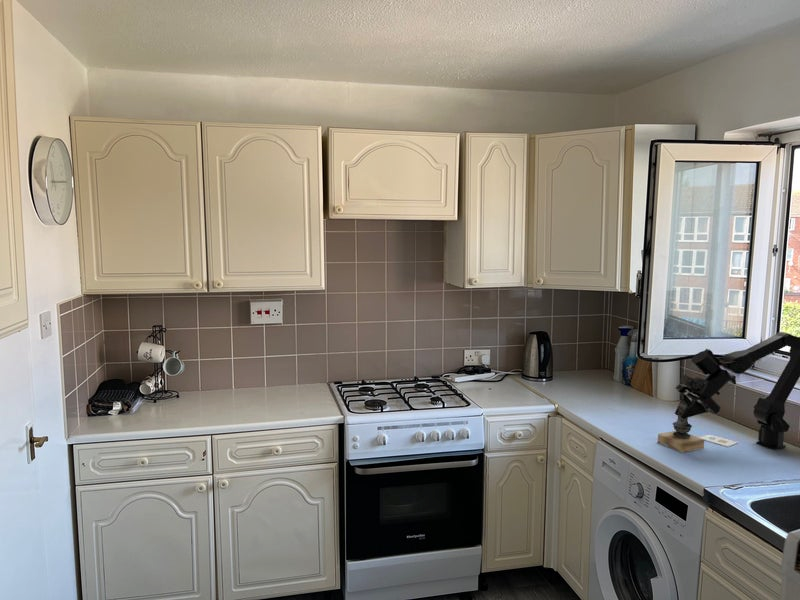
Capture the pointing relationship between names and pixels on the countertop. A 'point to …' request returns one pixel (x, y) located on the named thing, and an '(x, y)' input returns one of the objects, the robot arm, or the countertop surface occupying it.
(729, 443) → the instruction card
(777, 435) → the robot arm
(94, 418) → the countertop surface
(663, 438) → the base brick
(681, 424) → the weathered stone finial
